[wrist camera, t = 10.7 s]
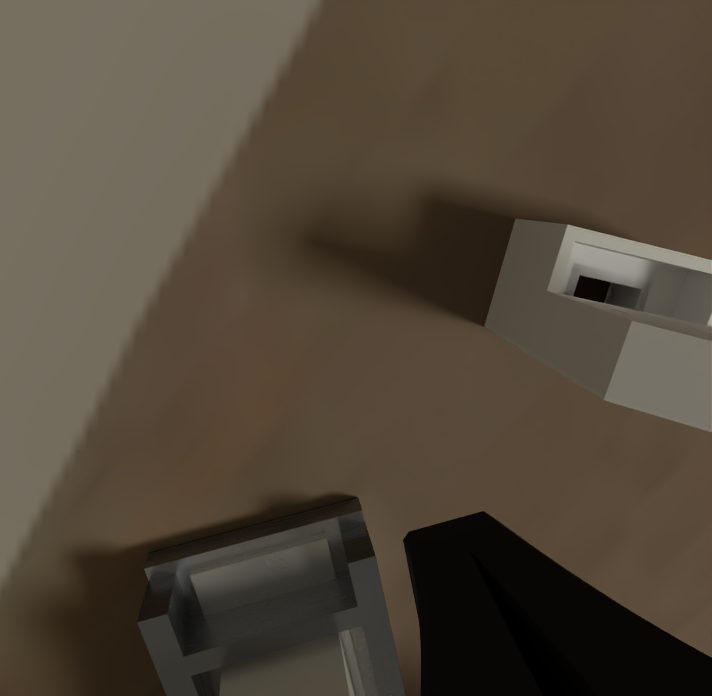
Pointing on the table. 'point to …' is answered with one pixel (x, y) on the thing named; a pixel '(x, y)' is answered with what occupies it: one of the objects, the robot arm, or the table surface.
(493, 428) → the table surface
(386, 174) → the table surface
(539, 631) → the robot arm
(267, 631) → the rail mount
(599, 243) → the white wedge bracket
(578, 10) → the table surface
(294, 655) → the module
